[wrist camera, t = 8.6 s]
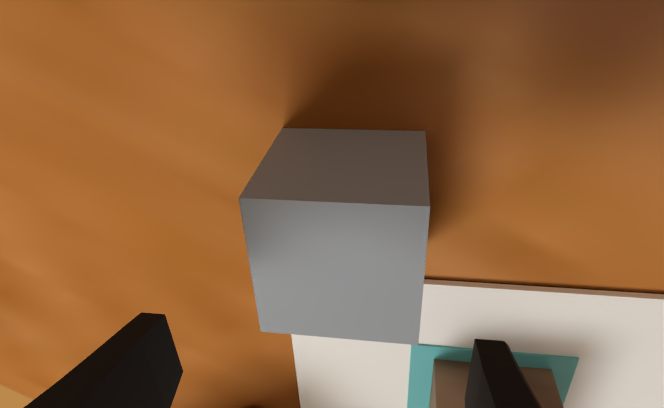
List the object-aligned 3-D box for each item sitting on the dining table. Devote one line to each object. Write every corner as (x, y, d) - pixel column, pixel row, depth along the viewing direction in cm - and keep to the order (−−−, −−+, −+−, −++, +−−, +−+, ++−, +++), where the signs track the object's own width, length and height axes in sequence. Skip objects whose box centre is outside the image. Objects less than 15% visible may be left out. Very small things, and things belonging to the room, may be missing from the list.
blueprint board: (755, 300, 17) (762, 307, 17) (640, 496, 24) (643, 504, 24) (285, 270, 20) (283, 276, 19) (308, 455, 27) (306, 462, 27)
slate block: (425, 129, 16) (430, 206, 12) (416, 247, 18) (418, 345, 14) (283, 127, 16) (238, 197, 12) (294, 240, 19) (260, 331, 15)
